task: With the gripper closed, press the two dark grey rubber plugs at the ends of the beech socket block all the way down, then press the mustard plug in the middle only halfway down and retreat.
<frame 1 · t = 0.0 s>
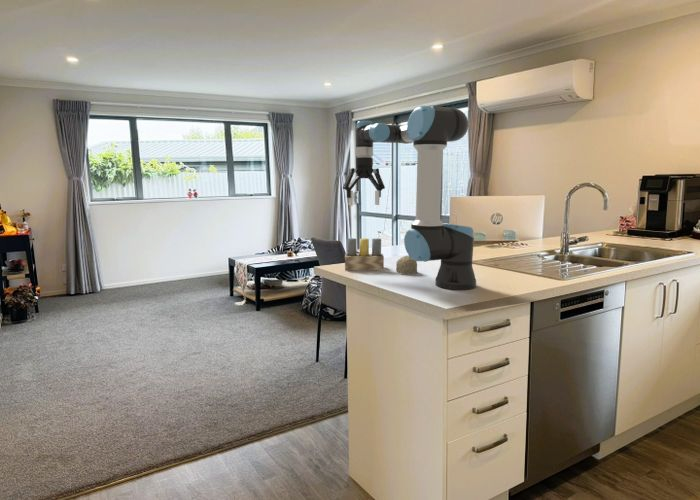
hand: (364, 205, 211), 28 cm above the worktop, fingers open, 13 cm apart
mustard plug: (364, 248, 209), point 9 cm above the worktop, slide at 0.0 cm
grey plug B: (351, 248, 209), point 9 cm above the worktop, slide at 0.0 cm
sponge: (406, 272, 202), on the worktop
grey plug A: (376, 249, 209), point 9 cm above the worktop, slide at 0.0 cm
socket block: (364, 268, 210), on the worktop
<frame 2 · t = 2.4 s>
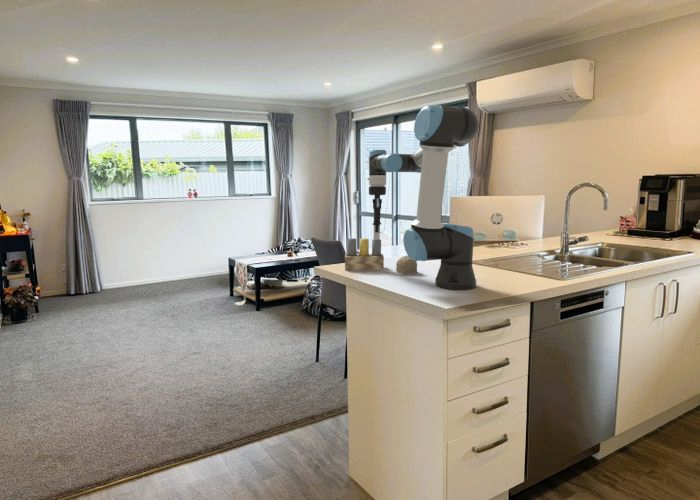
hand: (376, 239, 208), 13 cm above the worktop, fingers closed
grey plug A: (376, 249, 209), point 8 cm above the worktop, slide at 0.4 cm, touching gripper
everything else where it was.
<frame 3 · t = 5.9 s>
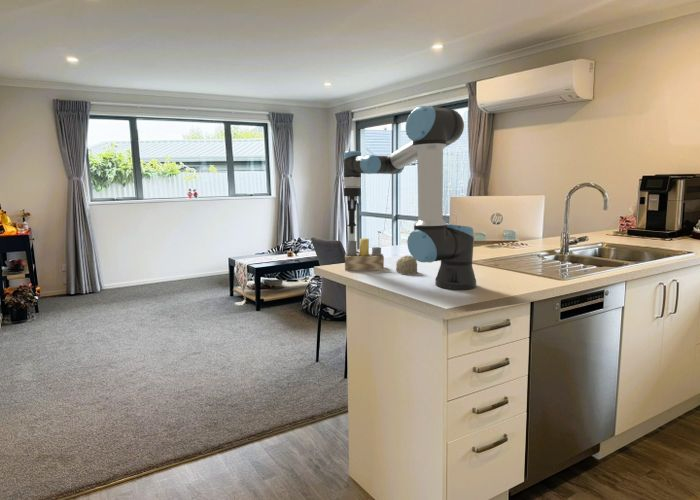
hand: (351, 240, 208), 13 cm above the worktop, fingers closed
grey plug B: (351, 251, 209), point 8 cm above the worktop, slide at 1.1 cm, touching gripper
grey plug A: (376, 257, 209), point 5 cm above the worktop, slide at 3.9 cm
everything else where it was.
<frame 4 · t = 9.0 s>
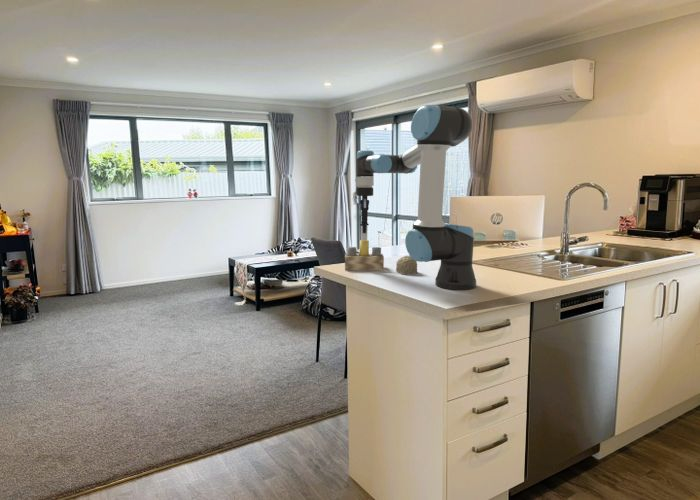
hand: (364, 240, 208), 13 cm above the worktop, fingers closed
mustard plug: (364, 250, 209), point 8 cm above the worktop, slide at 0.8 cm, touching gripper
grey plug B: (351, 257, 209), point 5 cm above the worktop, slide at 3.9 cm
everything else where it was.
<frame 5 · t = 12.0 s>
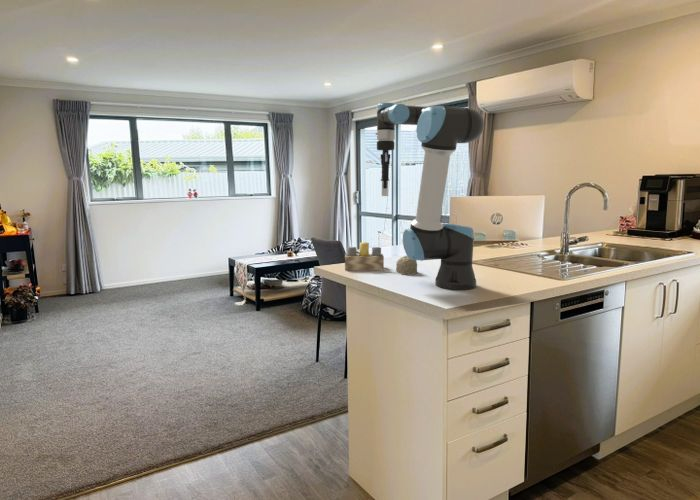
hand: (384, 195, 204), 32 cm above the worktop, fingers closed
mustard plug: (364, 252, 209), point 7 cm above the worktop, slide at 1.8 cm
everything else where it was.
at the end: grey plug A slide at 3.9 cm; grey plug B slide at 3.9 cm; mustard plug slide at 1.8 cm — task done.
